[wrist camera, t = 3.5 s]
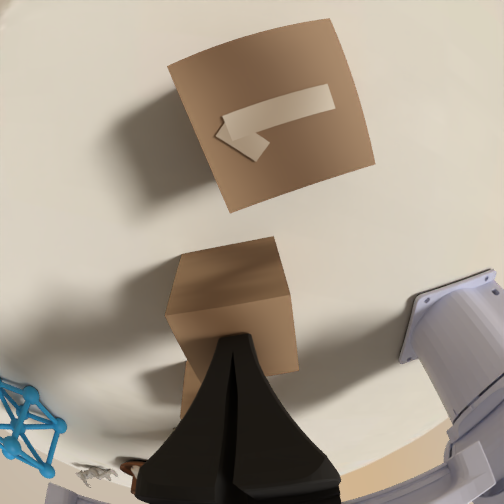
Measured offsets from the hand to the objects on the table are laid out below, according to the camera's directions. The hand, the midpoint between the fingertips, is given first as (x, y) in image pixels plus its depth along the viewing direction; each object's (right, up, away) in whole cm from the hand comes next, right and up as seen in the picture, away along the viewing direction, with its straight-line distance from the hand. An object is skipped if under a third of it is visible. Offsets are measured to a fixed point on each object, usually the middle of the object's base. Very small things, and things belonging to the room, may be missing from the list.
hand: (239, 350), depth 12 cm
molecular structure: (-29, -15, +13) cm, 35 cm away
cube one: (+1, +11, 0) cm, 11 cm away
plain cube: (0, +3, +5) cm, 5 cm away
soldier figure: (-33, -42, +27) cm, 60 cm away
